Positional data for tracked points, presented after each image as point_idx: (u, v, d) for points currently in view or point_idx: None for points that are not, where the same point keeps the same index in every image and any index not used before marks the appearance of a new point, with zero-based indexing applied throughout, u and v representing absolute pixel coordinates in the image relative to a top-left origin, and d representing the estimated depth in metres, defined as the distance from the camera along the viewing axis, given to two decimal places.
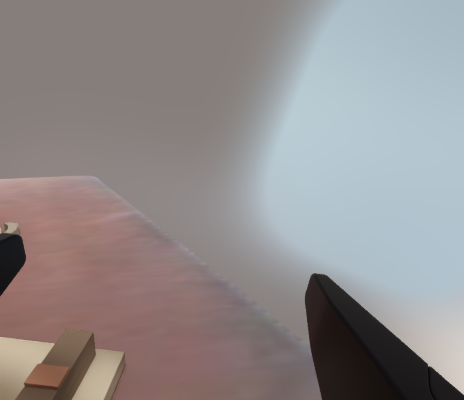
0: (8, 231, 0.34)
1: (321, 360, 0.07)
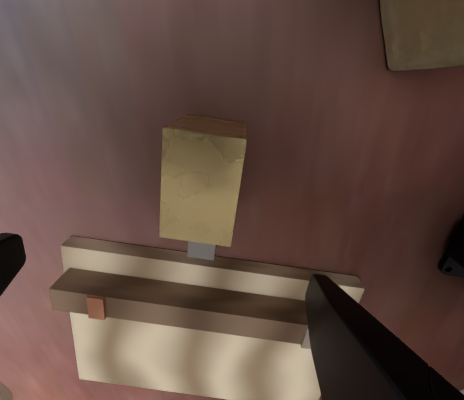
0: None
1: (321, 360, 0.07)
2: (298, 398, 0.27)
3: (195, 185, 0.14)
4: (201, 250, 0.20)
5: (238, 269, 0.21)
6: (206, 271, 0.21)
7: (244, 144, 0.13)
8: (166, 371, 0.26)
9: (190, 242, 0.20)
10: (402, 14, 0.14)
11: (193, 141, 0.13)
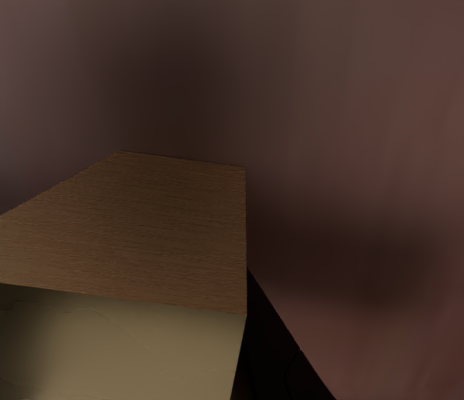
0: None
1: None
2: None
3: None
4: None
5: None
6: None
7: (237, 329, 0.03)
8: None
9: None
10: None
11: (35, 314, 0.03)
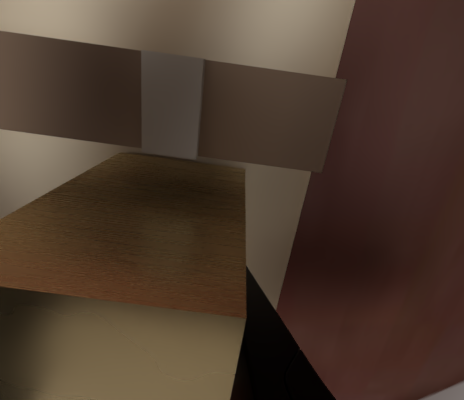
0: None
1: None
2: None
3: None
4: None
5: None
6: None
7: (236, 332, 0.03)
8: None
9: None
10: None
11: (36, 318, 0.03)
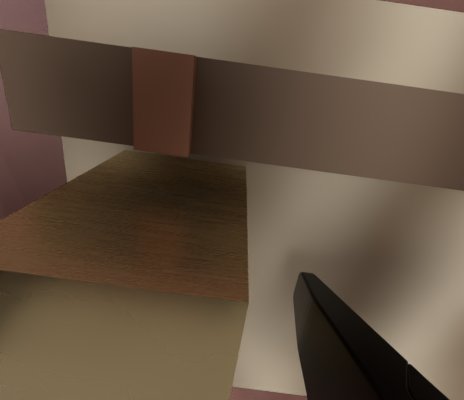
0: None
1: (306, 358, 0.07)
2: None
3: None
4: None
5: None
6: None
7: (239, 316, 0.04)
8: (281, 348, 0.12)
9: None
10: None
11: (52, 303, 0.04)
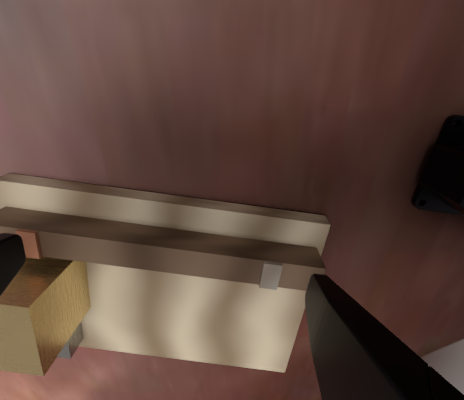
0: None
1: (321, 360, 0.07)
2: (267, 357, 0.25)
3: None
4: None
5: (191, 204, 0.19)
6: (156, 207, 0.19)
7: (27, 310, 0.16)
8: (123, 329, 0.24)
9: None
10: None
11: None
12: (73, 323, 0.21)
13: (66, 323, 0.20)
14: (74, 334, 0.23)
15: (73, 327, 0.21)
